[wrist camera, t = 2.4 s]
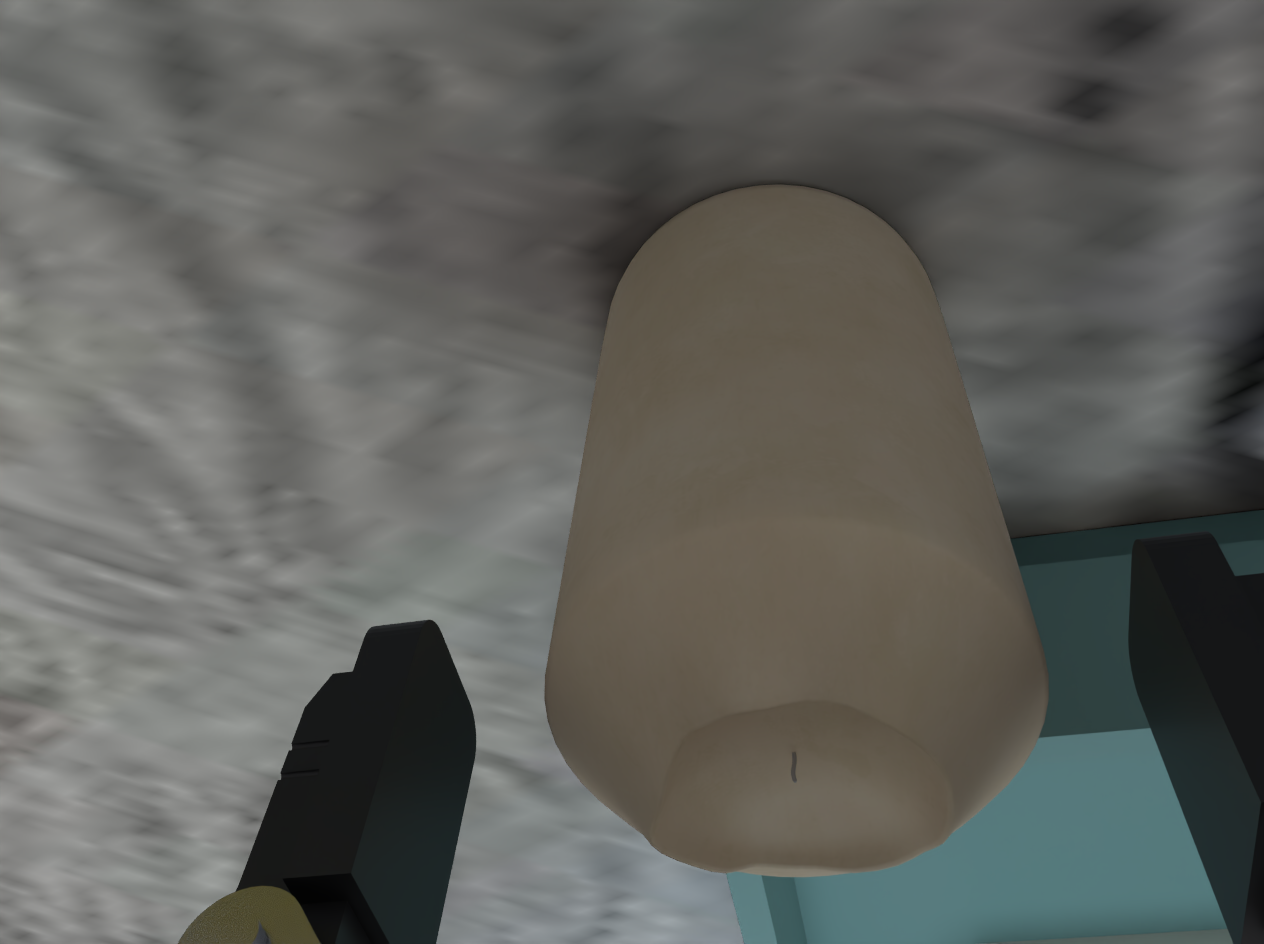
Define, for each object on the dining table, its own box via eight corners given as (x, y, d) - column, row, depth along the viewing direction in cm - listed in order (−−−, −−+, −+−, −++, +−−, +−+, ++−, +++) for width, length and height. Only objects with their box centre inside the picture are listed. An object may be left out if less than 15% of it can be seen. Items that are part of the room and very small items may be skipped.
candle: (653, 491, 22) (609, 996, 14) (566, 221, 19) (448, 666, 11) (955, 438, 21) (1096, 953, 13) (914, 142, 18) (1063, 572, 10)
